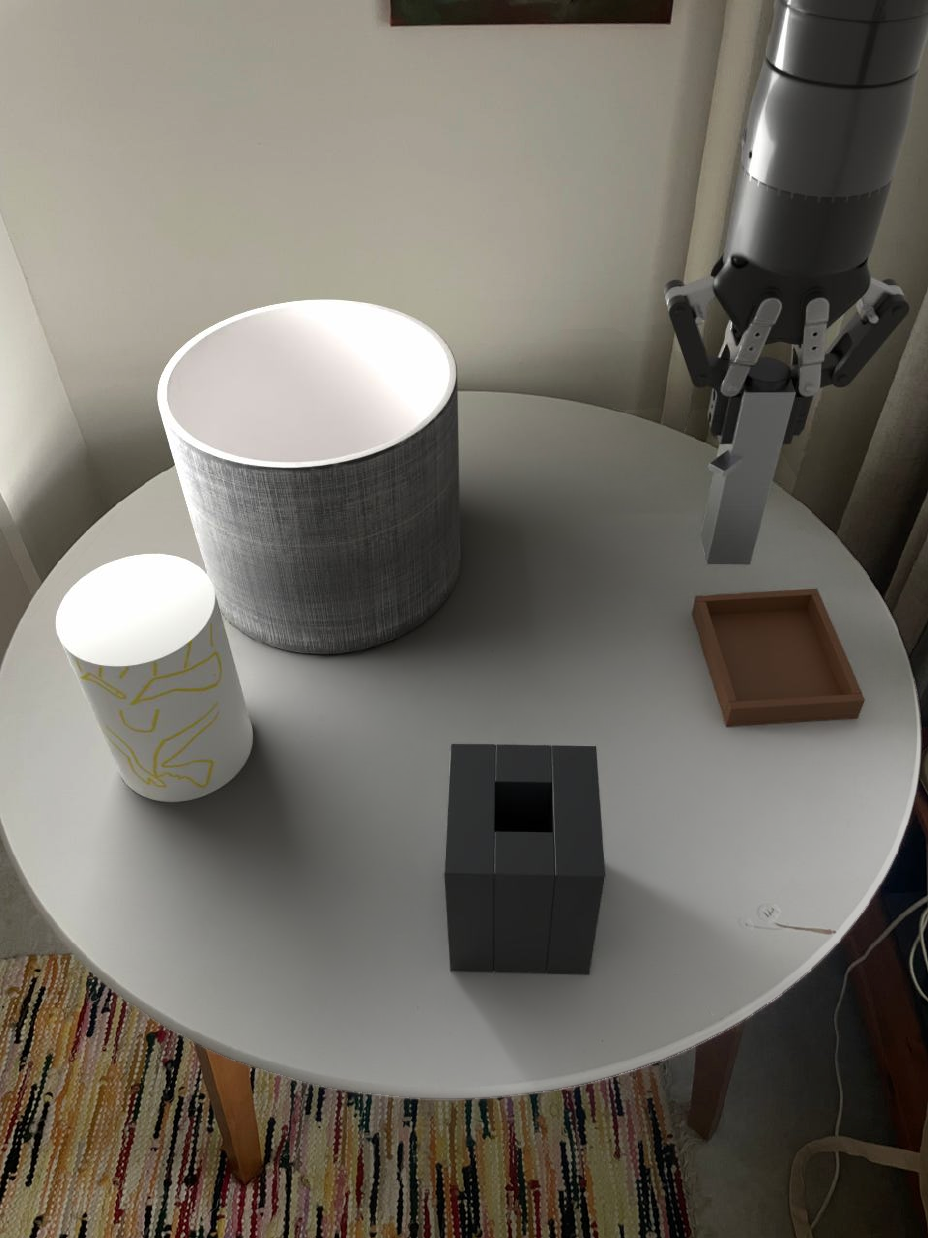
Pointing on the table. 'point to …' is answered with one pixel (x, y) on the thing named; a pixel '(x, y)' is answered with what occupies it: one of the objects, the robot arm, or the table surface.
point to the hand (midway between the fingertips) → (752, 435)
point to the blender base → (523, 858)
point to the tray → (775, 658)
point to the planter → (320, 470)
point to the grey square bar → (747, 465)
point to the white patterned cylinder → (158, 674)
